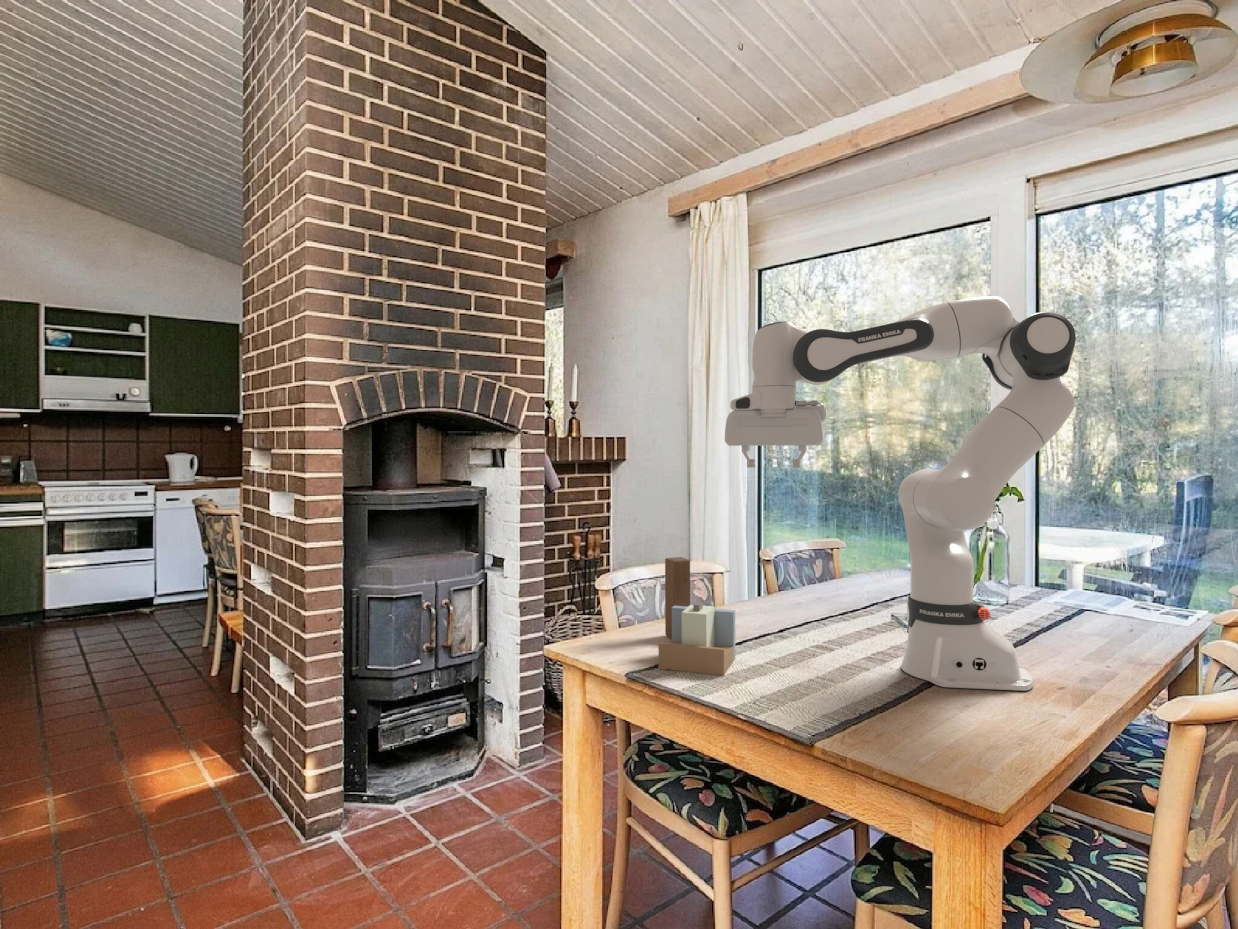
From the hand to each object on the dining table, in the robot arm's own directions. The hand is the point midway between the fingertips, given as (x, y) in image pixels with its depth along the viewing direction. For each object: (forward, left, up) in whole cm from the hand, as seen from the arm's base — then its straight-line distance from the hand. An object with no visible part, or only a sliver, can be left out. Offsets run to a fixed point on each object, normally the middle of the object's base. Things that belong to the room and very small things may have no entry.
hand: (773, 467), depth 150 cm
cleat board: (+14, +12, -39) cm, 43 cm away
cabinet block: (+13, +12, -36) cm, 40 cm away
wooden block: (+21, -4, -39) cm, 45 cm away
